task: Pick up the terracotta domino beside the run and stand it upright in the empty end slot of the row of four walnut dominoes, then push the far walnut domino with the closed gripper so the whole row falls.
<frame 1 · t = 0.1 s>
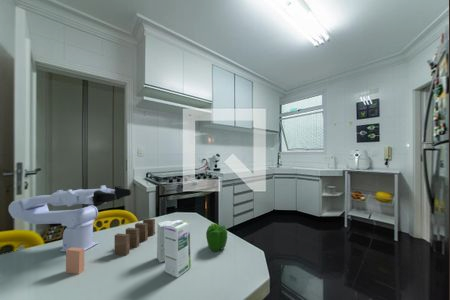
hand: (123, 194, 68), 22 cm above the table, tool horizontal, fingers open, 7 cm apart
domino 2: (141, 240, 76), on the table
syrup box: (177, 270, 56), on the table
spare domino: (75, 271, 56), on the table
domino 4: (122, 253, 66), on the table
bell pepper: (216, 248, 69), on the table
domino 3: (132, 246, 71), on the table
domino 1: (149, 234, 82), on the table
skincare box: (167, 257, 63), on the table
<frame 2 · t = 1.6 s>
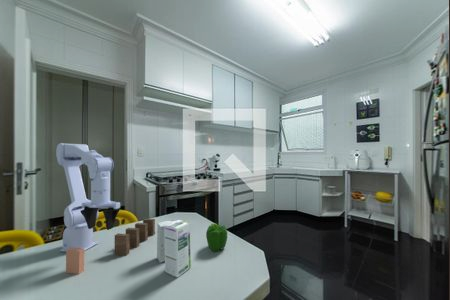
hand: (100, 228, 64), 10 cm above the table, tool pointing down, fingers open, 7 cm apart
nothing on the table moved.
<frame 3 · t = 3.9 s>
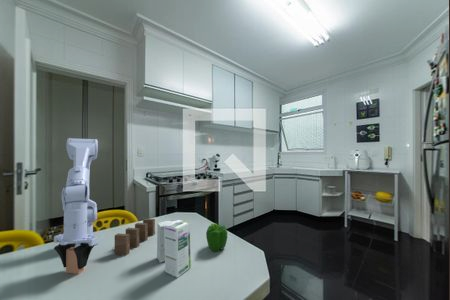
hand: (75, 266, 56), 2 cm above the table, tool pointing down, fingers closed on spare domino, 5 cm apart
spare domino: (75, 271, 56), on the table, touching gripper
everything else where it was.
when the fingers open (2 cm above the table, at t = 8.6 s): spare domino stays where it is, on the table.
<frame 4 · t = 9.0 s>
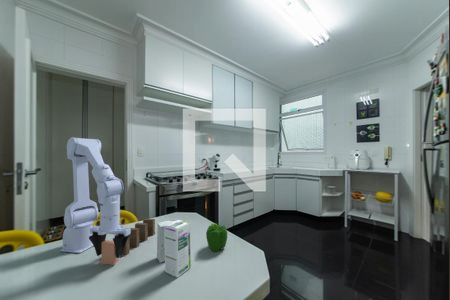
hand: (109, 255, 60), 2 cm above the table, tool pointing down, fingers open, 7 cm apart
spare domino: (109, 262, 60), on the table
everything else where it was.
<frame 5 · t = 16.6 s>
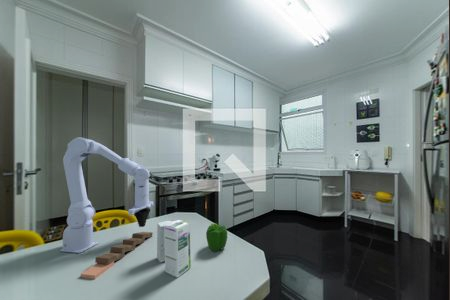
hand: (142, 226, 78), 5 cm above the table, tool pointing down, fingers closed
domino 2: (139, 239, 75), point 1 cm above the table, tilted 73°, touching domino 1, domino 3
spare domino: (107, 263, 59), on the table, tilted 90°, touching domino 4
domino 4: (118, 253, 64), point 1 cm above the table, tilted 78°, touching domino 3, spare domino
domino 3: (129, 246, 70), point 1 cm above the table, tilted 73°, touching domino 2, domino 4
domino 1: (147, 234, 81), point 1 cm above the table, tilted 74°, touching domino 2
everything else where it was.
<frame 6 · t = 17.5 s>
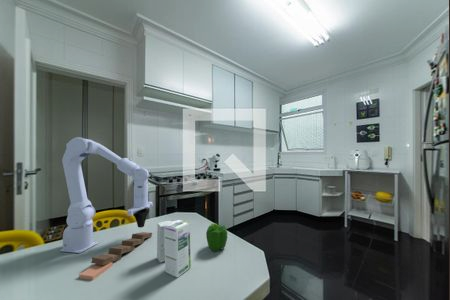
hand: (141, 226, 77), 5 cm above the table, tool pointing down, fingers closed
domino 4: (115, 255, 63), point 1 cm above the table, tilted 76°, touching domino 3, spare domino
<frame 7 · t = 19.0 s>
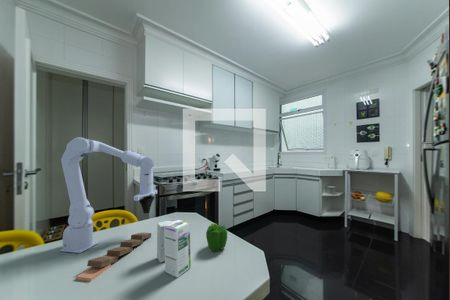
hand: (146, 212, 81), 10 cm above the table, tool pointing down, fingers closed
domino 2: (137, 240, 74), point 1 cm above the table, tilted 75°
domino 4: (111, 257, 62), point 1 cm above the table, tilted 74°, touching domino 3, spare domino
domino 3: (126, 248, 68), point 1 cm above the table, tilted 75°, touching domino 4
domino 1: (146, 234, 80), point 1 cm above the table, tilted 75°
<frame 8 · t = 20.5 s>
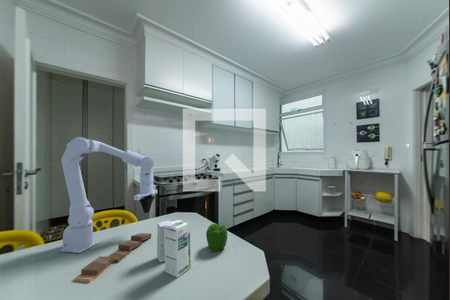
hand: (146, 212, 81), 10 cm above the table, tool pointing down, fingers closed
domino 2: (136, 242, 73), point 1 cm above the table, tilted 80°, touching domino 1
domino 4: (106, 258, 60), point 2 cm above the table, tilted 90°, touching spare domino
domino 3: (125, 250, 67), on the table, tilted 90°
domino 1: (146, 235, 79), point 1 cm above the table, tilted 76°, touching domino 2
at the end: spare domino tilted 90°; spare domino inside the target area (1.9 cm from its centre), on the table; domino 1 tilted 76° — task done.
